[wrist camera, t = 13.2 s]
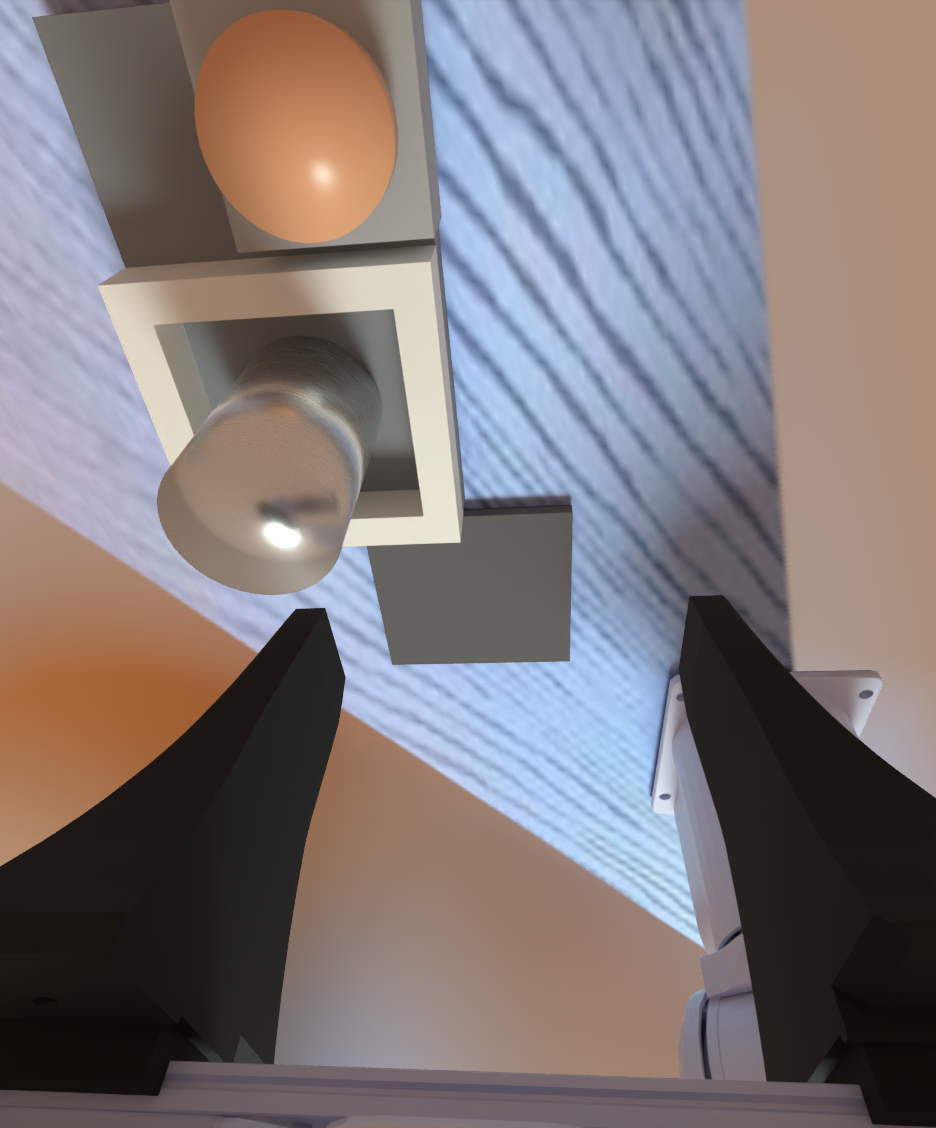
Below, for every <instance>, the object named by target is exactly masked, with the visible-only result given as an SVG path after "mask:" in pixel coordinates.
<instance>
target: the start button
mask: <svg viewBox="0 0 936 1128" xmlns="http://www.w3.org/2000/svg"><path fill="white" fill-rule="evenodd" d="M195 123H196V131H197V136H198V140H199V145H200V148H201V151H202V154H203V157H204V160H205V162H206V164H207V167H208V169H209V171H210V173H211V175H212V177H213V179H214V180H215V182H216V184H217V186H218V187H219V189H220V190H221V191H222V193H223V194H224V196H225V197H226V198H227V200H228V201H229V202H230V203H231V204H232V205H233V206H234V207H235V209H236V210H237V211H239V212H240V213H241V214H242V215H243V216H244V217H245V218H246V219H248V220H249V221H250V222H252V223H253V224H254V225H256V226H257V227H259V228H261V229H262V230H264V231H266V232H268V233H270V234H272V235H274V236H277V237H279V238H282V239H286V240H289V241H293V242H300V243H319V242H326V241H330V240H333V239H337V238H339V237H341V236H343V235H345V234H348V233H349V232H351V231H352V230H354V229H355V228H357V227H358V226H359V225H360V224H361V223H362V222H363V221H365V220H366V219H367V218H368V216H369V215H370V214H371V213H372V211H373V210H374V209H375V207H376V206H377V205H378V203H379V202H380V201H381V199H382V197H383V196H384V194H385V192H386V191H387V189H388V186H389V184H390V182H391V179H392V176H393V173H394V169H395V166H396V160H397V154H398V124H397V118H396V112H395V107H394V104H393V100H392V97H391V94H390V91H389V89H388V86H387V84H386V81H385V79H384V77H383V75H382V74H381V72H380V70H379V68H378V66H377V65H376V63H375V62H374V60H373V59H372V58H371V56H370V55H369V53H368V52H367V51H366V50H365V49H364V48H363V46H362V45H361V44H360V43H359V42H358V41H357V40H356V39H355V38H354V37H353V36H351V35H350V34H349V33H348V32H347V31H345V30H344V29H342V28H341V27H339V26H338V25H337V24H335V23H333V22H331V21H329V20H327V19H325V18H323V17H321V16H318V15H314V14H311V13H308V12H301V11H295V10H267V11H262V12H256V13H253V14H251V15H248V16H246V17H243V18H241V19H240V20H238V21H236V22H235V23H233V24H232V25H230V26H229V27H228V28H227V29H226V30H225V31H224V32H222V33H221V34H220V36H219V37H218V38H217V39H216V41H215V42H214V43H213V44H212V46H211V48H210V49H209V51H208V53H207V55H206V56H205V59H204V61H203V64H202V66H201V69H200V72H199V76H198V80H197V84H196V91H195Z"/></svg>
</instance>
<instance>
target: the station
mask: <svg viewBox="0 0 936 1128" xmlns="http://www.w3.org/2000/svg"><path fill="white" fill-rule="evenodd" d="M169 1H170V2H169V3H160V4H150V5H141V6H132V7H123V8H114V9H104V10H95V11H86V12H77V13H68V14H58V15H49V16H40V17H32V18H33V21H34V23H35V26H36V29H37V31H38V34H39V37H40V40H41V42H42V45H43V48H44V50H45V53H46V56H47V58H48V61H49V64H50V66H51V69H52V72H53V74H54V77H55V80H56V82H57V85H58V88H59V90H60V93H61V96H62V99H63V101H64V104H65V107H66V109H67V112H68V115H69V117H70V120H71V123H72V125H73V128H74V131H75V133H76V136H77V139H78V141H79V144H80V147H81V149H82V152H83V155H84V158H85V160H86V163H87V166H88V168H89V171H90V174H91V176H92V179H93V182H94V184H95V187H96V190H97V192H98V195H99V198H100V200H101V203H102V206H103V208H104V211H105V214H106V216H107V219H108V222H109V225H110V227H111V230H112V233H113V235H114V238H115V241H116V243H117V246H118V249H119V251H120V254H121V257H122V259H123V262H124V265H125V267H126V268H125V269H123V270H121V271H120V272H118V273H117V274H115V275H114V276H112V277H110V278H109V279H107V280H106V281H104V282H103V283H101V284H100V285H98V287H99V290H100V292H101V295H102V297H103V300H104V302H105V305H106V307H107V310H108V312H109V315H110V317H111V319H112V322H113V324H114V327H115V329H116V332H117V334H118V337H119V339H120V342H121V344H122V347H123V349H124V352H125V354H126V357H127V359H128V362H129V364H130V367H131V369H132V372H133V374H134V376H135V379H136V381H137V384H138V386H139V389H140V391H141V394H142V396H143V399H144V401H145V404H146V406H147V409H148V411H149V414H150V416H151V419H152V421H153V424H154V426H155V429H156V431H157V434H158V436H159V438H160V441H161V443H162V446H163V448H164V451H165V453H166V456H167V458H168V461H169V463H170V466H171V465H172V464H173V463H174V461H175V460H176V459H177V457H178V456H179V455H180V453H181V452H182V451H183V449H184V448H185V447H186V446H187V444H188V443H189V442H190V440H191V439H192V438H193V436H194V435H195V434H196V432H197V431H198V430H199V429H200V427H201V426H202V425H203V423H204V422H205V421H206V419H207V418H208V417H209V415H210V414H211V413H212V411H213V410H214V409H215V408H216V406H217V405H218V404H219V402H220V401H221V400H222V398H223V397H224V396H225V394H226V393H227V392H228V390H229V389H230V388H231V387H232V385H233V384H234V383H235V381H236V380H237V379H238V377H239V376H240V375H241V373H242V372H243V371H244V369H245V368H246V367H247V366H248V364H249V363H250V362H251V360H252V359H253V358H254V356H255V355H256V354H257V353H258V352H259V351H260V350H261V349H262V348H264V347H265V346H267V345H268V344H270V343H272V342H274V341H276V340H278V339H282V338H286V337H291V336H312V337H318V338H321V339H325V340H328V341H330V342H333V343H335V344H337V345H339V346H341V347H343V348H345V349H346V350H347V351H349V352H350V353H352V354H353V355H354V356H355V357H356V358H358V359H359V360H360V361H361V362H362V363H363V365H364V366H365V367H366V368H367V369H368V371H369V372H370V374H371V375H372V377H373V379H374V380H375V382H376V384H377V387H378V390H379V392H380V396H381V400H382V409H383V410H382V421H381V426H380V429H379V432H378V436H377V439H376V442H375V445H374V448H373V451H372V454H371V458H370V461H369V464H368V467H367V470H366V473H365V476H364V480H363V483H362V486H361V489H360V492H359V495H358V498H357V501H356V505H355V508H354V511H353V514H352V517H351V520H350V523H349V527H348V530H347V533H346V536H345V539H344V542H343V545H342V547H347V546H376V545H404V544H432V543H461V532H462V522H463V511H464V501H465V494H464V484H463V473H462V463H461V453H460V443H459V432H458V422H457V412H456V402H455V391H454V381H453V371H452V361H451V350H450V340H449V330H448V320H447V310H446V299H445V289H444V279H443V269H442V258H441V248H440V238H439V228H438V226H439V223H440V220H441V207H440V197H439V186H438V175H437V165H436V154H435V144H434V133H433V122H432V112H431V101H430V91H429V80H428V69H427V59H426V48H425V38H424V27H423V16H422V6H421V0H169ZM267 10H295V11H301V12H308V13H311V14H314V15H318V16H321V17H323V18H325V19H327V20H329V21H331V22H333V23H335V24H337V25H338V26H339V27H341V28H342V29H344V30H345V31H347V32H348V33H349V34H350V35H351V36H353V37H354V38H355V39H356V40H357V41H358V42H359V43H360V44H361V45H362V46H363V48H364V49H365V50H366V51H367V52H368V53H369V55H370V56H371V58H372V59H373V60H374V62H375V63H376V65H377V66H378V68H379V70H380V72H381V74H382V75H383V77H384V79H385V81H386V84H387V86H388V89H389V91H390V94H391V97H392V100H393V104H394V107H395V112H396V118H397V124H398V154H397V160H396V166H395V169H394V173H393V176H392V179H391V182H390V184H389V186H388V189H387V191H386V192H385V194H384V196H383V197H382V199H381V201H380V202H379V203H378V205H377V206H376V207H375V209H374V210H373V211H372V213H371V214H370V215H369V216H368V218H367V219H366V220H365V221H363V222H362V223H361V224H360V225H359V226H358V227H357V228H355V229H354V230H352V231H351V232H349V233H348V234H345V235H343V236H341V237H339V238H337V239H333V240H330V241H326V242H319V243H300V242H293V241H289V240H286V239H282V238H279V237H277V236H274V235H272V234H270V233H268V232H266V231H264V230H262V229H261V228H259V227H257V226H256V225H254V224H253V223H252V222H250V221H249V220H248V219H246V218H245V217H244V216H243V215H242V214H241V213H240V212H239V211H237V210H236V209H235V207H234V206H233V205H232V204H231V203H230V202H229V201H228V200H227V198H226V197H225V196H224V194H223V193H222V191H221V190H220V189H219V187H218V186H217V184H216V182H215V180H214V179H213V177H212V175H211V173H210V171H209V169H208V167H207V164H206V162H205V160H204V157H203V154H202V151H201V148H200V145H199V140H198V136H197V131H196V123H195V91H196V84H197V80H198V76H199V72H200V69H201V66H202V64H203V61H204V59H205V56H206V55H207V53H208V51H209V49H210V48H211V46H212V44H213V43H214V42H215V41H216V39H217V38H218V37H219V36H220V34H221V33H222V32H224V31H225V30H226V29H227V28H228V27H229V26H230V25H232V24H233V23H235V22H236V21H238V20H240V19H241V18H243V17H246V16H248V15H251V14H253V13H256V12H262V11H267Z"/></svg>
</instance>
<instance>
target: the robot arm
mask: <svg viewBox="0 0 936 1128" xmlns="http://www.w3.org/2000/svg"><path fill="white" fill-rule="evenodd" d="M344 684H345V674H344V671H343V667H342V664H341V660H340V657H339V654H338V650H337V647H336V643H335V640H334V636H333V633H332V630H331V626H330V623H329V619H328V616H327V613H326V609H325V608H311V609H296V610H295V611H294V612H293V613H292V614H291V615H290V616H289V618H288V619H287V620H286V621H285V622H284V623H283V625H282V626H281V627H280V628H279V629H278V631H277V632H276V633H275V634H274V636H273V637H272V638H271V639H270V640H269V642H268V643H267V644H266V645H265V646H264V648H263V649H262V650H261V651H260V652H259V654H258V655H257V656H256V657H255V658H254V660H253V661H252V662H251V663H250V664H249V665H248V666H247V668H246V669H245V670H244V671H243V672H242V673H241V674H240V675H239V677H238V678H237V679H236V680H235V681H234V682H233V683H232V685H231V686H230V687H229V688H228V689H227V690H226V691H225V692H224V693H223V694H222V695H221V696H220V697H219V699H218V700H217V701H216V702H215V703H214V704H213V705H212V706H211V707H210V708H209V709H208V710H207V711H206V712H205V713H204V714H203V715H202V716H201V717H200V718H199V719H198V720H197V721H196V722H195V723H194V724H193V725H192V726H191V727H190V728H189V729H188V730H187V731H186V732H185V733H184V734H183V735H182V736H181V737H180V738H179V739H178V740H177V741H175V742H174V743H173V744H172V745H171V746H170V747H168V749H166V750H165V751H164V752H163V753H162V754H161V755H159V756H158V757H157V758H156V759H155V760H154V761H152V762H151V763H150V764H149V765H147V766H146V767H145V768H144V769H142V770H141V771H140V772H139V773H137V774H136V775H135V776H133V777H132V778H131V779H130V780H128V781H127V782H126V783H125V784H123V785H122V786H121V787H119V788H118V789H117V790H116V791H114V792H113V793H112V794H110V795H109V796H108V797H106V798H105V799H104V800H102V801H101V802H100V803H98V804H97V805H95V806H94V807H92V808H91V809H90V810H88V811H87V812H85V813H84V814H83V815H81V816H80V817H78V818H77V819H75V820H74V821H72V822H71V823H69V824H68V825H66V826H65V827H63V828H62V829H60V830H59V831H57V832H56V833H54V834H53V835H51V836H50V837H48V838H46V839H45V840H43V841H42V842H40V843H39V844H37V845H35V846H34V847H32V848H30V849H29V850H27V851H25V852H24V853H22V854H20V855H19V856H17V857H16V858H14V859H12V860H10V861H9V862H7V863H5V864H4V865H2V866H0V1128H936V798H935V797H933V796H932V795H931V794H929V793H928V792H927V791H925V790H924V789H922V788H921V787H920V786H918V785H917V784H915V783H914V782H912V781H911V780H910V779H908V778H907V777H906V776H904V775H903V774H902V773H900V772H899V771H898V770H896V769H895V768H893V767H892V766H891V765H890V764H888V763H887V762H886V761H884V760H883V759H882V758H881V757H880V756H878V755H877V754H876V753H875V752H873V751H872V750H871V749H870V748H869V747H867V746H866V745H865V744H864V743H863V742H861V741H860V740H859V737H860V735H861V732H862V730H863V728H864V726H865V723H866V721H867V719H868V717H869V715H870V712H871V710H872V708H873V706H874V703H875V701H876V699H877V697H878V694H879V692H880V690H881V688H882V685H883V680H882V679H881V677H880V675H879V673H878V672H876V671H871V670H859V671H804V672H789V671H788V670H787V669H786V668H785V667H784V666H783V665H782V664H781V663H780V662H779V661H778V660H777V659H776V657H775V656H774V655H773V654H772V653H771V652H770V651H769V650H768V648H767V647H766V646H765V645H764V644H763V643H762V641H761V640H760V639H759V638H758V637H757V636H756V634H755V633H754V632H753V631H752V630H751V629H750V627H749V626H748V625H747V624H746V622H745V621H744V620H743V619H742V618H741V616H740V615H739V614H738V613H737V611H736V610H735V609H734V608H733V606H732V605H731V604H730V603H729V601H728V600H727V599H726V598H725V597H724V596H723V595H715V596H690V597H689V603H688V610H687V617H686V624H685V631H684V637H683V644H682V651H681V658H680V664H679V675H676V676H674V677H673V678H672V679H671V681H670V684H669V690H668V697H667V703H666V709H665V716H664V722H663V729H662V735H661V741H660V748H659V754H658V761H657V767H656V773H655V780H654V786H653V793H652V799H651V805H652V810H653V811H654V812H655V813H658V814H674V815H675V820H676V825H677V829H678V834H679V839H680V844H681V849H682V853H683V858H684V863H685V868H686V873H687V877H688V882H689V887H690V892H691V897H692V901H693V906H694V911H695V916H696V921H697V925H698V930H699V933H700V936H701V939H702V942H703V944H704V947H705V949H706V951H707V953H708V954H709V955H706V956H702V957H701V958H700V964H701V969H702V974H703V979H704V984H705V990H699V991H698V992H696V993H695V994H693V995H692V996H691V998H690V999H689V1001H688V1003H687V1007H686V1010H685V1013H684V1020H683V1023H682V1025H681V1029H680V1034H679V1044H678V1045H679V1046H678V1047H679V1048H678V1059H679V1073H680V1078H653V1077H624V1076H623V1077H622V1076H595V1075H594V1076H593V1075H565V1074H537V1073H536V1074H534V1073H508V1072H479V1071H450V1070H420V1069H392V1068H364V1067H361V1068H360V1067H335V1066H333V1067H332V1066H305V1065H304V1066H303V1065H276V1064H274V1055H275V1046H276V1037H277V1028H278V1020H279V1011H280V1002H281V993H282V986H283V978H284V971H285V963H286V956H287V949H288V942H289V935H290V929H291V923H292V917H293V910H294V904H295V898H296V892H297V885H298V880H299V874H300V869H301V864H302V858H303V853H304V847H305V842H306V838H307V834H308V830H309V825H310V821H311V818H312V815H313V811H314V808H315V804H316V801H317V797H318V794H319V790H320V787H321V783H322V780H323V776H324V773H325V770H326V766H327V762H328V759H329V755H330V752H331V749H332V745H333V741H334V738H335V734H336V730H337V727H338V723H339V717H340V711H341V705H342V699H343V691H344ZM680 693H683V694H680Z"/></svg>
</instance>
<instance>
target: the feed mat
mask: <svg viewBox="0 0 936 1128" xmlns="http://www.w3.org/2000/svg"><path fill="white" fill-rule="evenodd" d="M367 549H368V554H369V559H370V563H371V568H372V573H373V577H374V582H375V586H376V591H377V596H378V600H379V605H380V610H381V614H382V619H383V624H384V628H385V633H386V637H387V642H388V647H389V651H390V656H391V661H392V665H403V664H454V663H505V662H555V661H570V613H571V562H572V506H548V507H522V508H497V509H472V510H464V511H463V522H462V532H461V543H432V544H404V545H376V546H367Z"/></svg>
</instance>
